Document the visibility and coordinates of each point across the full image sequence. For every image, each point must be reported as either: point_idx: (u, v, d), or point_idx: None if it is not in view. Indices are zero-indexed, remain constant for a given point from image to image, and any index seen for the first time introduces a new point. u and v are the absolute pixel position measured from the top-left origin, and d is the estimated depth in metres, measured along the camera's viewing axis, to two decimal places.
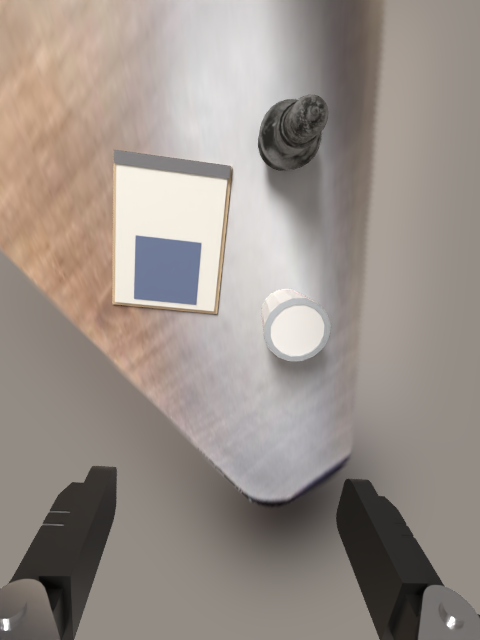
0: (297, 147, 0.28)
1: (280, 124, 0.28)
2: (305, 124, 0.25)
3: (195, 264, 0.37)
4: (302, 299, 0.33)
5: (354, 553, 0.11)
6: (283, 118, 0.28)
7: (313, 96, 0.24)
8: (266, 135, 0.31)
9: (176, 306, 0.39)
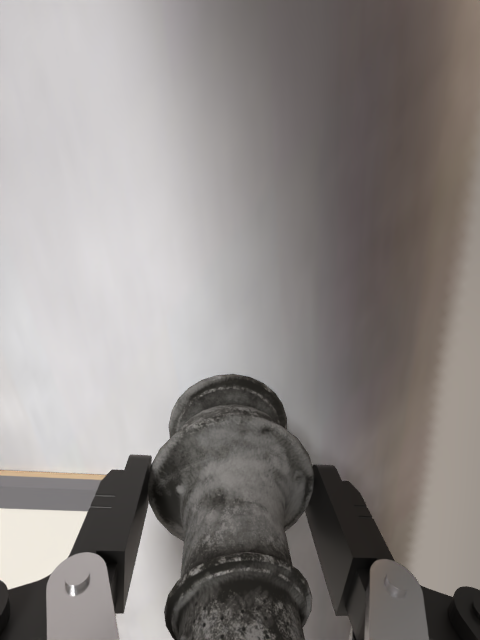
0: None
1: (170, 607, 0.08)
2: None
3: None
4: None
5: (317, 534, 0.11)
6: (176, 611, 0.08)
7: None
8: (164, 500, 0.11)
9: None
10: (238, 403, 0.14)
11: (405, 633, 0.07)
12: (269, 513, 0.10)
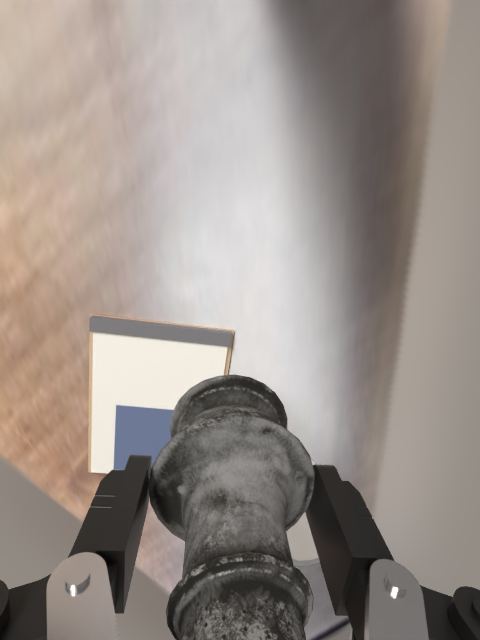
0: None
1: (171, 607, 0.08)
2: None
3: None
4: None
5: (317, 534, 0.11)
6: (178, 611, 0.08)
7: None
8: (165, 501, 0.12)
9: None
10: (239, 403, 0.14)
11: (405, 633, 0.07)
12: (270, 514, 0.10)
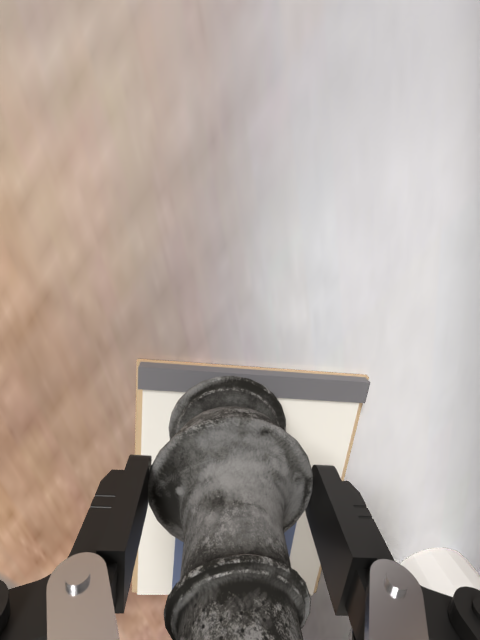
0: None
1: (169, 608, 0.08)
2: None
3: (286, 534, 0.20)
4: None
5: (317, 534, 0.11)
6: (175, 612, 0.08)
7: None
8: (163, 502, 0.12)
9: None
10: (237, 404, 0.14)
11: (405, 633, 0.07)
12: (268, 515, 0.10)
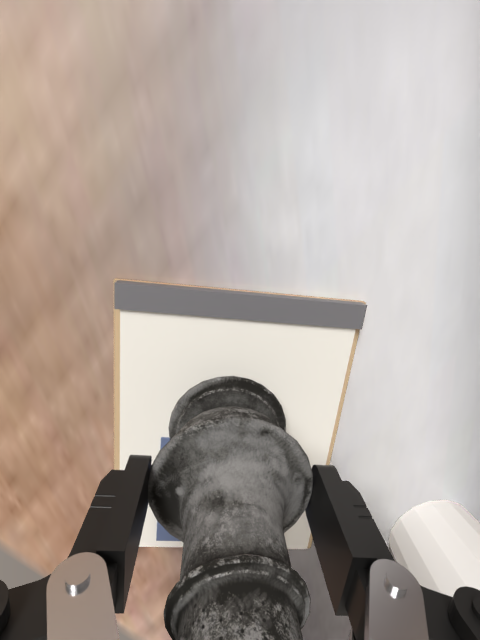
0: None
1: (169, 609, 0.08)
2: None
3: None
4: None
5: (317, 534, 0.11)
6: (175, 612, 0.08)
7: None
8: (163, 502, 0.12)
9: None
10: (237, 405, 0.14)
11: (405, 633, 0.07)
12: (268, 515, 0.10)
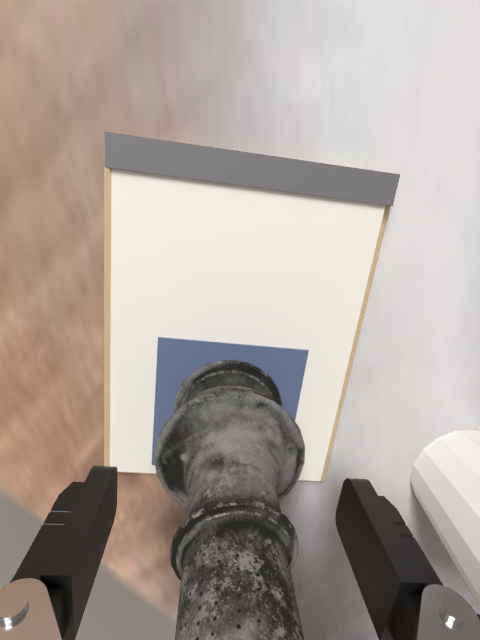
0: None
1: (175, 549, 0.09)
2: None
3: (290, 394, 0.17)
4: None
5: (353, 552, 0.11)
6: (180, 549, 0.09)
7: None
8: (169, 469, 0.13)
9: None
10: None
11: None
12: (262, 474, 0.11)
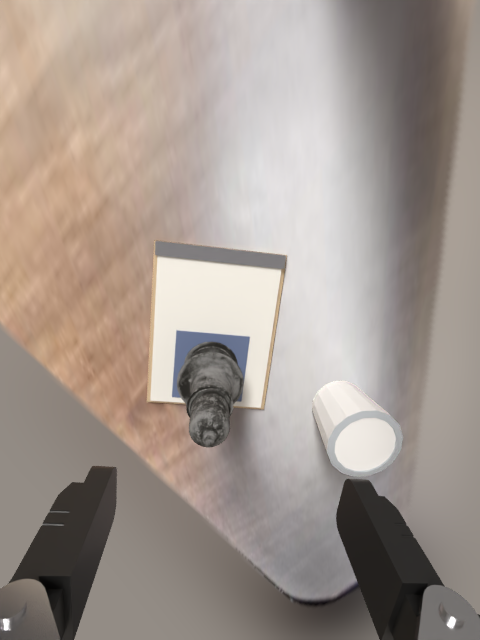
0: None
1: (188, 405, 0.26)
2: (203, 443, 0.23)
3: (242, 359, 0.33)
4: (372, 411, 0.29)
5: (354, 553, 0.11)
6: (190, 403, 0.26)
7: (210, 416, 0.23)
8: (183, 387, 0.29)
9: None
10: None
11: None
12: (221, 382, 0.27)
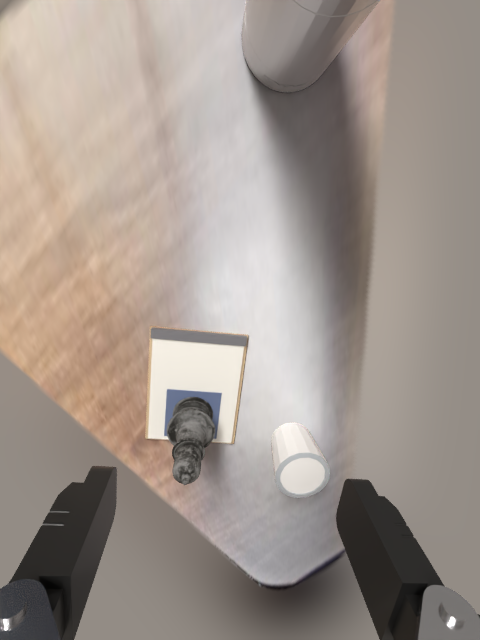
0: None
1: (173, 451, 0.37)
2: (181, 482, 0.34)
3: (216, 409, 0.44)
4: (306, 453, 0.40)
5: (354, 553, 0.11)
6: (174, 451, 0.37)
7: (186, 464, 0.34)
8: (171, 434, 0.40)
9: None
10: (195, 406, 0.43)
11: None
12: (197, 433, 0.39)
